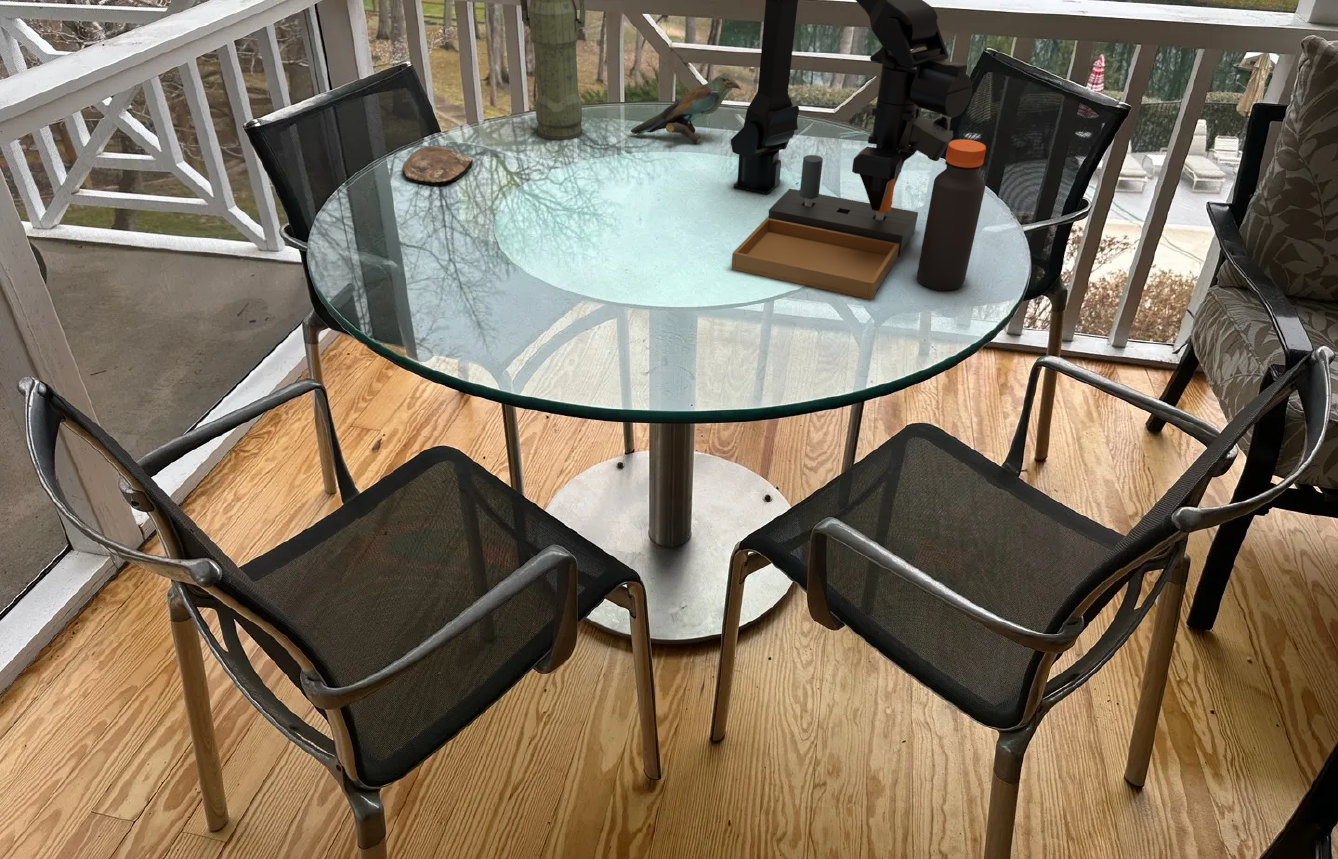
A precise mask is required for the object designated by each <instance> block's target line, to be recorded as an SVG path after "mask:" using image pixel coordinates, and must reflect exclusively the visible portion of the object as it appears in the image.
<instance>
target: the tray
mask: <svg viewBox="0 0 1338 859" xmlns="http://www.w3.org/2000/svg"><path fill="white" fill-rule="evenodd" d="M898 250H899V244H898V243H892V242H887V241H882V240H877V239H872V238H867V237H862V236H857V235H852V234H847V233H842V232H837V231H831V230H826V229H821V228H816V227H811V226H806V225H801V224H796V223H791V222H786V221H781V220H776V219H770V218H768V217H766V218H765V219H763V221H762V222H761V223H760V224H759V225H758V226H757V227H756V228H755V229H754V230H753V231H752V232H751V233H750V234H749V235H748V236H747V238H745V239H744V241H743V242H741V243H740V245H739V246H738V247H737V248H736V249H735V250H734V251H733V252H732V254H731V270H734V271H738V272H743V273H747V274H752V275H755V276H756V275H757V276H761V277H765V278H770V279H775V280H780V281H784V282H788V283H792V284H797V285H802V286H807V287H810V288H812V287H813V288H816V289H821V290H826V291H829V292H835V293H839V294H843V295H847V296H852V297H857V298H862V299H865V300H870V301H872V300H873V298H874V297H875V295H876V293H877V291H878V289H880V288H881V286H882V283H883V282H884V280H885V279H886V277H887V276H888V274H889V273H890V271H891V270H892V268H893V267H894V265H895V263H896V262H897V260H898V257H897V256H898Z"/></svg>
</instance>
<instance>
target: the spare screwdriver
mask: <svg viewBox="0 0 1338 859" xmlns="http://www.w3.org/2000/svg"><path fill="white" fill-rule="evenodd" d="M823 160H824V159H823V157H822V156H820V155H815V154H809V155H808V154H807V155H805V156H803V158H802V169H801V179H800V189H799V190H800V196H801V197H803V198H805V205H804V206H807V207H812V201H813V199H815V198H817V197H818V196H819V194H820V190H821V180H822V171H823V162H824V161H823Z"/></svg>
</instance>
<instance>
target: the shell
mask: <svg viewBox="0 0 1338 859" xmlns="http://www.w3.org/2000/svg"><path fill="white" fill-rule="evenodd" d="M473 161H474V160H473V158H472V157H471V156H469V155H466V154H464V153H461V152H460V151H455V150H453V149H451V148H448V147H443V146H441V145H428V146H425V147H424V146H423V147H421V148H419V149H417V150H415V151H414V152H412V153H411V154H410V155H409V157H408V158H406V160H405V161H404V163H403V164H402V168H401V171H402V174H403V176H404V178H405V180H407V181H410V182H412V183H419V184H422V185H430V186H442V185H445V184H447V183H448V182H452V181H457V180H459V179H460V178H461V177H463V176H464V175H466V174H467V173H468V171H469V170H470V169H471V167H472V166H473Z"/></svg>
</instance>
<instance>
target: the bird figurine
mask: <svg viewBox="0 0 1338 859" xmlns="http://www.w3.org/2000/svg"><path fill="white" fill-rule="evenodd" d="M733 89H738V90H740V91H742V87H741V86H740V85H739V84H738V83H737V82H736V79H735V78H734V77H733V76H732V75H731V74H730V73H726V72H724V73H721V74H719V75H717V76H716V77H715V78H714V79H712V80H710V81H709V82H707V83H704V84H701V85H698V86H696V87H694V88H692V89H691V90H688V91H687V92H686V93H685V94H683V96H682V97H680V99H679V100H677V101H676V102H674V103H672V104H671V105H669V106H667V107H666V108H665V109H664V110H663V111H662V112H660V113H658V114H657V115H654V116H653V117H651V118H649V119H647V120H645V121H644V122H642V123H640V124H638V125H636V126H634V127H632V129H630V133H632V134H633V135H634V137H635V138H638V137H639V136H642V135H643V134H646V133H654V132H657V131H661V130H664V129H665V130H666V132H668V133H669V134H675V133H679V134H681V135H683V136H685V137H687V138H688V139H689V140H690V141H691V142H693V144H694V143H695V144H696V145H697V144H698V143H699V142H700V139H701V136H700V135H699V136H698V135H696V133H695V132H696V127H695V126H694V125H693V123H692V122H693V121H694V120H697V119H698V118H700V117H701V116H703V115H709V114H713V113H715V112H716V111H717V110H718V109H719V108H720V107H721V105H722V103H723V101H724V100H725V99H726V96H727V95H728V94H729V92H730V91H732V90H733Z"/></svg>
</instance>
